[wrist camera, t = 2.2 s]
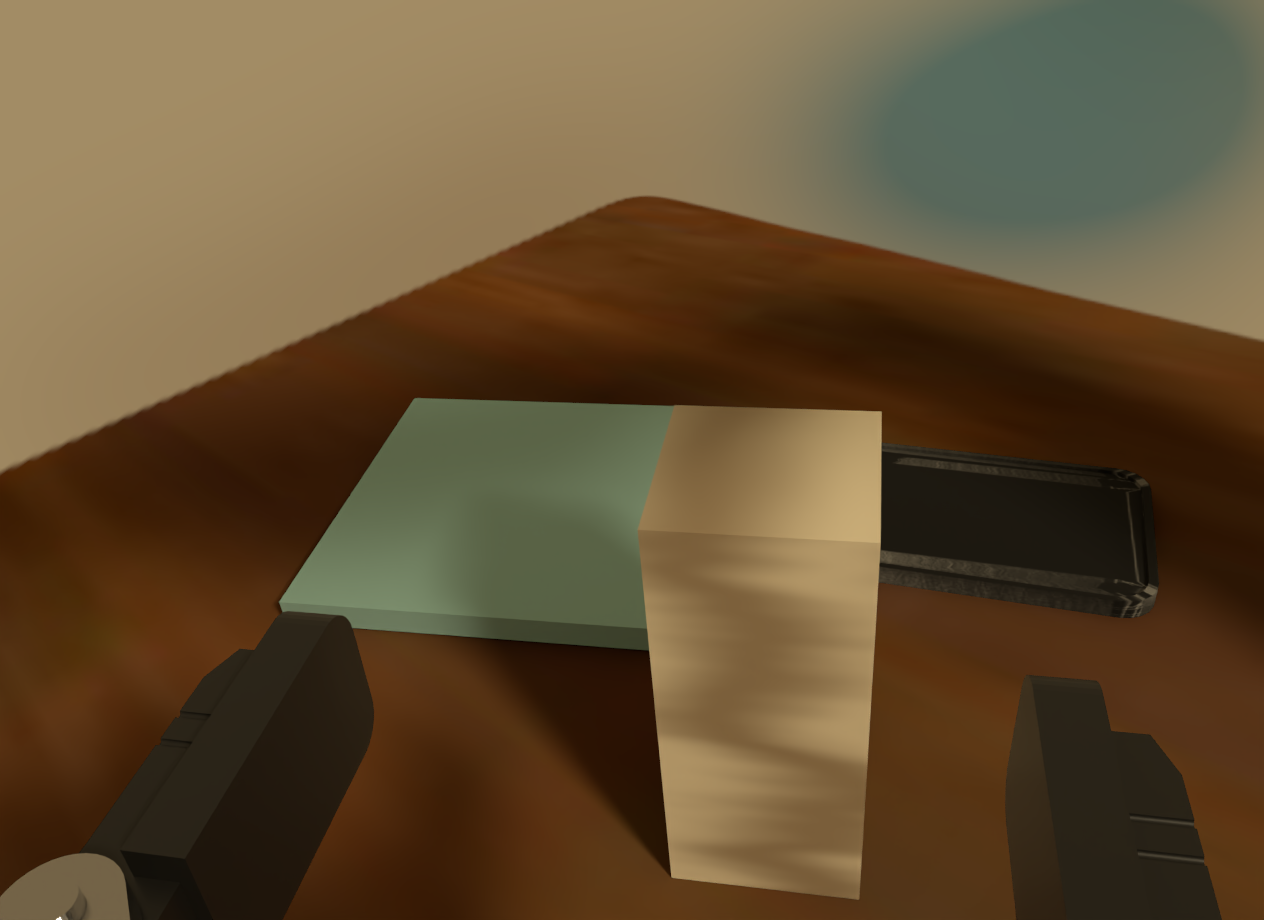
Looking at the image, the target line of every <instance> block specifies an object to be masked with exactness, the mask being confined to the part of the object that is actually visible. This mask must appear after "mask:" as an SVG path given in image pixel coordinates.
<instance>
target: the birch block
mask: <svg viewBox="0 0 1264 920" xmlns="http://www.w3.org/2000/svg"><path fill="white" fill-rule="evenodd" d="M881 436H882V412H878V411H846V410H814V409H782V408H750V407H718V406H686V405H674V408H673V412H672V415H671V419H670V422H669V425H668V429H667V432H666V435H665V439H664V442H663V446H662V449H661V452H660V456H659V459H658V462H657V466H656V469H655V473H654V476H653V479H652V483H651V486H650V489H649V493H648V496H647V500H646V503H645V506H644V510H643V513H642V516H641V520H640V523H639V527H638V540H639V550H640V560H641V570H642V581H643V591H644V601H645V611H646V622H647V632H648V642H649V652H650V663H651V673H652V683H653V693H654V704H655V714H656V724H657V734H658V744H659V755H660V765H661V775H662V785H663V796H664V806H665V816H666V826H667V837H668V847H669V857H670V867H671V878H679V879H688V880H696V881H705V882H713V883H722V884H730V885H739V886H747V887H755V888H764V889H772V890H781V891H789V892H798V893H806V894H815V895H823V896H832V897H840V898H849V899H857V900H859V893H860V876H861V860H862V843H863V827H864V810H865V794H866V777H867V761H868V744H869V728H870V711H871V695H872V678H873V662H874V645H875V629H876V612H877V596H878V579H879V563H880V546H881Z"/></svg>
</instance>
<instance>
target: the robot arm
mask: <svg viewBox="0 0 1264 920" xmlns="http://www.w3.org/2000/svg"><path fill="white" fill-rule="evenodd" d="M373 721H374V708H373V701H372V697H371V693H370V690H369V686H368V682H367V679H366V675H365V672H364V668H363V664H362V661H361V657H360V654H359V650H358V646H357V643H356V639H355V636H354V632H353V629H352V626H351V623H350V622H349V620H348V619H347V618H346V617H345V616H342V615H330V614H318V613H306V612H294V611H286V612H283V613H281V614H280V615H279V616H278V617H277V618H276V619H275V620H274V622H273V623H272V625H271V626H270V628H269V629H268V631H267V632H266V634H265V635H264V637H263V638H262V640H261V641H260V642H259V644H258V645H257V647H256V648H255V650H247V649H239V650H238V651H237V652H235V653H234V654H233V655H231V656H230V657H229V658H228V659H226V660H225V661H224V662H223V663H221V664H220V665H219V666H217V667H216V668H215V669H214V670H212V671H211V672H210V673H209V674H207V675H206V676H205V677H204V678H203V679H202V680H201V682H200V683H199V685H198V686H197V688H196V689H195V690H194V692H193V693H192V695H191V696H190V698H189V699H188V700H187V702H186V703H185V705H184V706H183V707H182V709H181V710H180V717H179V718H176V717H175V719H174V720H173V722H172V723H171V724H170V726H169V727H168V729H167V730H166V732H165V733H164V734H163V736H162V737H161V743H160V745H156V746H155V747H154V749H153V750H152V751H151V753H150V754H149V756H148V757H147V758H146V760H145V761H144V763H143V764H142V766H141V767H140V768H139V770H138V771H137V773H136V774H135V775H134V777H133V778H132V780H131V781H130V783H129V784H128V785H127V787H126V788H125V790H124V791H123V792H122V794H121V795H120V797H119V798H118V800H117V801H116V802H115V804H114V805H113V807H112V808H111V810H110V811H109V812H108V814H107V815H106V817H105V818H104V819H103V821H102V822H101V824H100V825H99V827H98V828H97V829H96V831H95V832H94V834H93V835H92V836H91V838H90V839H89V841H88V842H87V844H86V845H85V846H84V847H83V849H82V850H81V851H80V852H79V854H72V855H67V856H63V857H60V858H57V859H54V860H51V861H49V862H47V863H44V864H42V865H40V866H38V867H37V868H35V869H33V870H31V871H30V872H28V873H27V874H25V875H24V876H23V877H21V878H20V879H18V880H17V881H16V882H15V883H14V884H13V885H11V886H10V887H9V888H8V889H7V890H6V891H5V892H4V893H3V894H2V896H1V897H0V920H282V919H283V917H284V915H285V913H286V911H287V909H288V907H289V905H290V903H291V901H292V899H293V897H294V895H295V893H296V891H297V889H298V887H299V885H300V883H301V881H302V879H303V877H304V875H305V873H306V871H307V869H308V867H309V865H310V863H311V861H312V859H313V857H314V855H315V853H316V851H317V849H318V847H319V845H320V843H321V841H322V839H323V837H324V835H325V833H326V831H327V829H328V827H329V825H330V823H331V821H332V819H333V817H334V815H335V813H336V811H337V809H338V807H339V805H340V803H341V801H342V799H343V797H344V795H345V793H346V791H347V789H348V787H349V785H350V783H351V781H352V779H353V777H354V775H355V773H356V771H357V769H358V767H359V765H360V763H361V761H362V759H363V757H364V755H365V753H366V751H367V748H368V746H369V743H370V739H371V735H372V730H373ZM1006 825H1007V835H1008V844H1009V853H1010V863H1011V872H1012V881H1013V891H1014V900H1015V909H1016V919H1017V920H1222V919H1221V915H1220V911H1219V908H1218V904H1217V900H1216V897H1215V893H1214V890H1213V886H1212V882H1211V879H1210V875H1209V872H1208V868H1207V866H1205V865H1204V853H1203V850H1202V846H1201V843H1200V839H1199V835H1198V832H1197V829H1195V828H1194V817H1193V814H1192V810H1191V806H1190V803H1189V799H1188V795H1187V792H1186V788H1185V785H1184V781H1183V777H1182V775H1181V774H1180V772H1179V771H1178V770H1177V768H1176V767H1175V766H1174V765H1173V763H1172V762H1171V761H1170V759H1169V758H1168V757H1167V756H1166V754H1165V753H1164V752H1163V751H1162V749H1161V748H1160V747H1159V745H1158V744H1157V743H1156V742H1155V740H1154V739H1153V738H1152V736H1151V735H1148V734H1137V733H1126V732H1115V731H1111V729H1110V724H1109V720H1108V715H1107V710H1106V706H1105V701H1104V697H1103V693H1102V689H1101V686H1100V684H1099V683H1098V682H1097V681H1094V680H1082V679H1070V678H1058V677H1046V676H1034V675H1026V676H1025V678H1024V681H1023V685H1022V690H1021V695H1020V701H1019V706H1018V712H1017V717H1016V723H1015V728H1014V734H1013V740H1012V745H1011V751H1010V756H1009V762H1008V768H1007V777H1006Z"/></svg>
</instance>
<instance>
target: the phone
mask: <svg viewBox="0 0 1264 920" xmlns="http://www.w3.org/2000/svg"><path fill="white" fill-rule="evenodd" d="M878 582H880V583H887V584H894V585H901V586H908V587H914V588H921V589H928V590H935V591H942V592H948V593H955V594H962V595H969V596H976V597H983V598H989V599H996V600H1003V601H1010V602H1017V603H1023V604H1030V605H1037V606H1044V607H1051V608H1057V609H1064V610H1071V611H1078V612H1085V613H1092V614H1098V615H1105V616H1112V617H1119V618H1133V617H1139V616H1142V615H1144V614H1146V613H1148V612H1149V611H1150V610H1151V609H1152V608H1153V607H1154V603H1155V599H1156V595H1157V591H1158V586H1159V579H1158V567H1157V555H1156V543H1155V531H1154V519H1153V507H1152V495H1151V488H1150V486H1149V484H1148V483H1147V481H1146V480H1145V479H1144V478H1142V477H1140V476H1139V475H1137V474H1135V473H1132V472H1130V471H1127V470H1122V469H1117V468H1108V467H1098V466H1089V465H1080V464H1071V463H1062V462H1053V461H1043V460H1034V459H1025V458H1016V457H1007V456H998V455H989V454H980V453H971V452H961V451H952V450H943V449H934V448H925V447H916V446H907V445H898V444H889V443H881V546H880V563H879V579H878Z"/></svg>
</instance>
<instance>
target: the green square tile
mask: <svg viewBox="0 0 1264 920" xmlns="http://www.w3.org/2000/svg"><path fill="white" fill-rule="evenodd" d="M673 408H674V406H655V405H622V404H590V403H558V402H526V401H494V400H461V399H429V398H414V400H413V401H412V403H411V404H410V406H409V407H408V409H407V410H406V412H405V413H404V415H403V416H402V418H401V419H400V421H399V422H398V424H397V425H396V427H395V428H394V430H393V431H392V433H391V434H390V436H389V437H388V439H387V440H386V442H385V443H384V445H383V446H382V448H381V449H380V451H379V452H378V454H377V455H376V457H375V458H374V460H373V461H372V463H371V464H370V466H369V467H368V469H367V471H366V472H365V474H364V475H363V477H362V478H361V480H360V481H359V483H358V484H357V486H356V487H355V489H354V490H353V492H352V493H351V495H350V496H349V498H348V499H347V501H346V502H345V504H344V505H343V507H342V508H341V510H340V511H339V513H338V514H337V516H336V517H335V519H334V520H333V522H332V523H331V525H330V526H329V528H328V529H327V531H326V532H325V534H324V535H323V537H322V538H321V540H320V541H319V543H318V544H317V546H316V547H315V549H314V550H313V552H312V553H311V555H310V556H309V558H308V559H307V561H306V562H305V564H304V565H303V567H302V568H301V570H300V571H299V573H298V574H297V576H296V577H295V579H294V580H293V582H292V583H291V585H290V586H289V588H288V589H287V591H286V592H285V594H284V595H283V597H282V598H281V600H280V601H279V603H280V606H281V609H282V612H286V611H294V612H306V613H318V614H330V615H342V616H345V617H346V618H347V619H348V620H349V622H350V623H351V626H352V628H361V629H374V630H387V631H400V632H413V633H426V634H439V635H452V636H465V637H479V638H492V639H505V640H518V641H531V642H544V643H557V644H570V645H583V646H596V647H609V648H623V649H636V650H649V642H648V632H647V622H646V611H645V601H644V591H643V581H642V570H641V560H640V550H639V540H638V527H639V523H640V520H641V516H642V513H643V510H644V506H645V503H646V500H647V496H648V493H649V489H650V486H651V483H652V479H653V476H654V473H655V469H656V466H657V462H658V459H659V456H660V452H661V449H662V446H663V442H664V439H665V435H666V432H667V429H668V425H669V422H670V419H671V415H672V412H673Z"/></svg>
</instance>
